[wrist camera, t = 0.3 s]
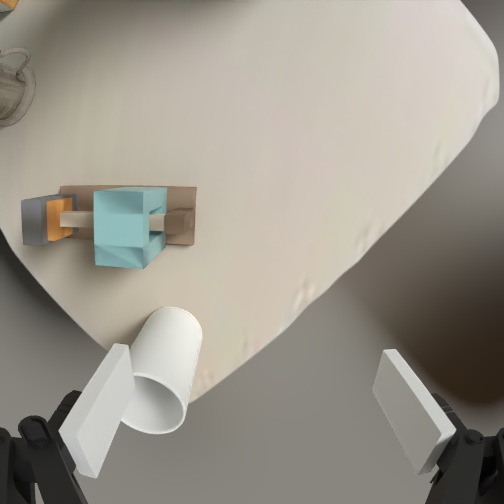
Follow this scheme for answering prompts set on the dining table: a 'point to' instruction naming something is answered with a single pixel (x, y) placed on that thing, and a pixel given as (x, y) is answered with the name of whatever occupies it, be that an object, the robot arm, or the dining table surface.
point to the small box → (7, 5)
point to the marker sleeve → (127, 226)
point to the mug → (15, 89)
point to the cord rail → (173, 208)
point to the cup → (163, 370)
